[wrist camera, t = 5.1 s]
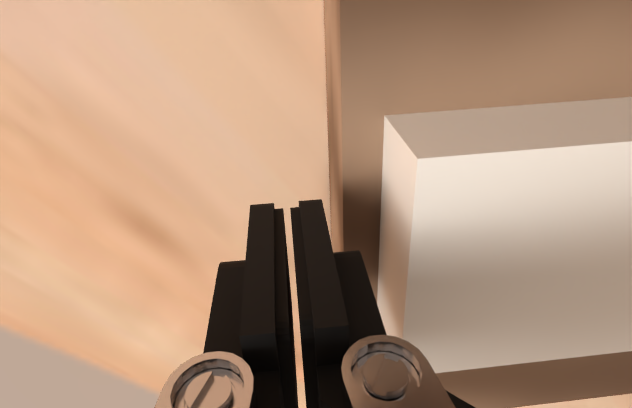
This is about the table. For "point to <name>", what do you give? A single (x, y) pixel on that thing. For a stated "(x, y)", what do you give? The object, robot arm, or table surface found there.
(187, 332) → the table surface
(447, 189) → the ivory tile
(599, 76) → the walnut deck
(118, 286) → the table surface
